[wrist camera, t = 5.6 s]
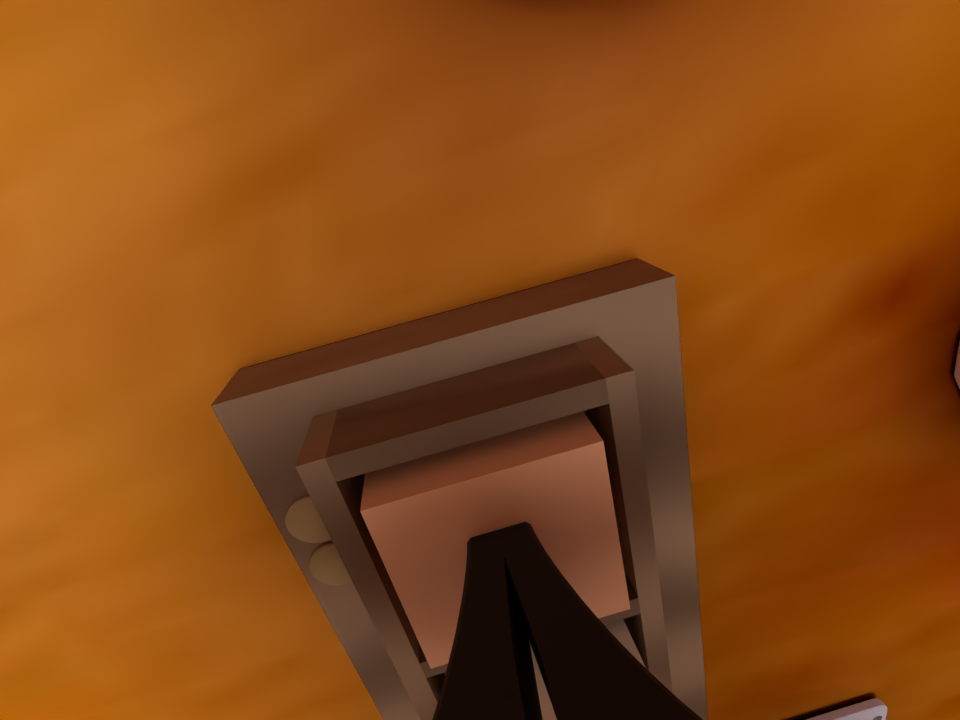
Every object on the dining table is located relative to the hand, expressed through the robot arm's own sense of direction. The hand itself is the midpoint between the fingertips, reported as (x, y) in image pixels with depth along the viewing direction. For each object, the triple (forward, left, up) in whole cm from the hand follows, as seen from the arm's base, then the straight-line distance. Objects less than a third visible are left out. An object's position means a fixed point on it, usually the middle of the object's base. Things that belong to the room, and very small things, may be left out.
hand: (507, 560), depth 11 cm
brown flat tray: (-7, 0, -4) cm, 8 cm away
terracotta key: (0, 0, -2) cm, 2 cm away
